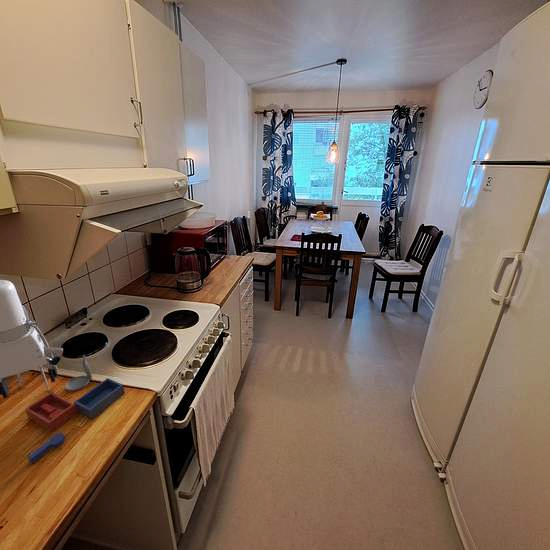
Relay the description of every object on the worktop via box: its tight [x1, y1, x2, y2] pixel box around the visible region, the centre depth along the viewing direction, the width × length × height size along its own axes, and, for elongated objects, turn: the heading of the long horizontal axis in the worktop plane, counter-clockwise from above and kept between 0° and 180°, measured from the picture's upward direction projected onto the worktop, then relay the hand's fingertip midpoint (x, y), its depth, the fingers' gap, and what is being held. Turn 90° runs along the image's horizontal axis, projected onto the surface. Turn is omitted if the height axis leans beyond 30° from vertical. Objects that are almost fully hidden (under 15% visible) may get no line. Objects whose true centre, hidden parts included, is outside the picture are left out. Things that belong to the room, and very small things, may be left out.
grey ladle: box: [64, 354, 93, 392], centre depth 94 cm, size 8×8×10 cm
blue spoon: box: [27, 432, 66, 465], centre depth 74 cm, size 8×3×2 cm, turn 156°
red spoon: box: [40, 403, 64, 420], centre depth 84 cm, size 8×3×2 cm, turn 66°
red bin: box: [24, 391, 79, 433], centre depth 84 cm, size 11×7×4 cm, turn 66°
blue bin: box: [73, 377, 126, 420], centre depth 89 cm, size 11×7×4 cm, turn 156°
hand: (31, 386), depth 74 cm, fingers open, 9 cm apart
